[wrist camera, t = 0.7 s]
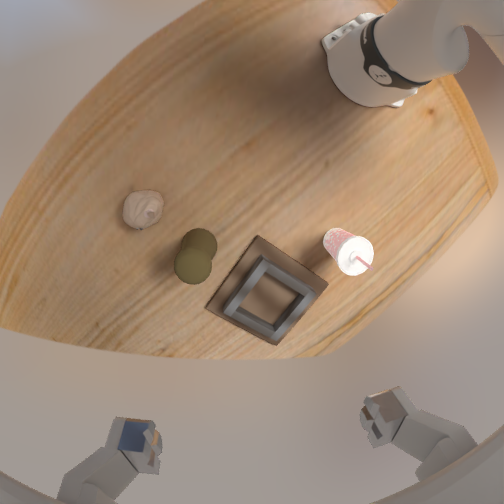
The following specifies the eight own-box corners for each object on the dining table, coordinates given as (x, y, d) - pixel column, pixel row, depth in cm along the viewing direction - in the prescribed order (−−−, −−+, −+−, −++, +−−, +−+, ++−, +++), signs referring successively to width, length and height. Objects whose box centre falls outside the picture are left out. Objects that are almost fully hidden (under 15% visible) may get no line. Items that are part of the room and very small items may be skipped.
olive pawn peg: (212, 266, 47) (209, 295, 36) (178, 258, 46) (165, 285, 35) (221, 233, 45) (219, 253, 35) (185, 224, 44) (172, 243, 34)
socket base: (257, 234, 46) (260, 240, 42) (327, 282, 50) (333, 290, 46) (206, 305, 49) (205, 315, 46) (275, 343, 53) (278, 353, 50)
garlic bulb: (155, 231, 44) (142, 245, 36) (124, 214, 43) (105, 224, 35) (173, 197, 43) (161, 204, 35) (140, 179, 41) (123, 183, 34)
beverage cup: (313, 233, 47) (345, 261, 33) (343, 217, 46) (383, 238, 33) (326, 262, 48) (359, 297, 35) (354, 246, 48) (394, 275, 35)
